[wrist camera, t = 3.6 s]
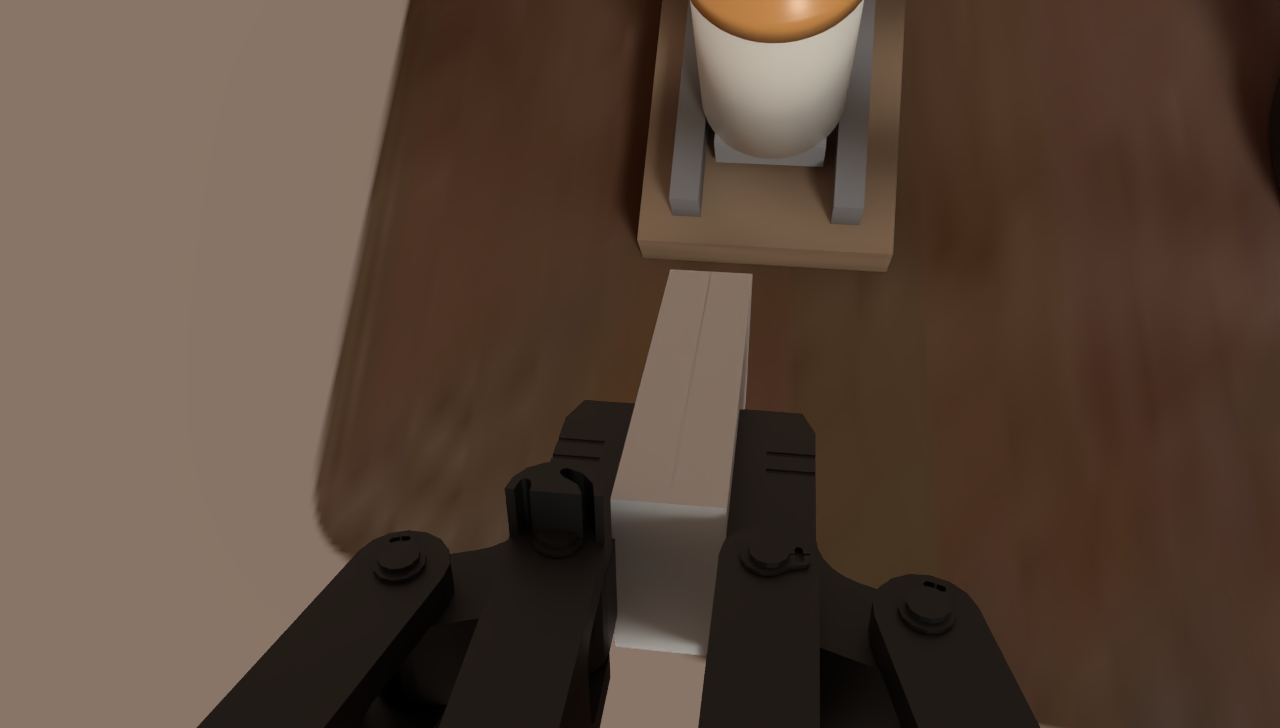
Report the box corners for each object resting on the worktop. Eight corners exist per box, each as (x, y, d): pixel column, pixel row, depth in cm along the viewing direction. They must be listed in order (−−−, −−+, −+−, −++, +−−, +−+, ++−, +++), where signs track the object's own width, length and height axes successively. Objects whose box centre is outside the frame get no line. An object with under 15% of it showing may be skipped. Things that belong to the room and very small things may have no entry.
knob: (844, 186, 36) (878, 25, 25) (692, 179, 36) (666, 20, 26) (853, 47, 37) (888, -160, 27) (704, 43, 37) (684, -161, 27)
